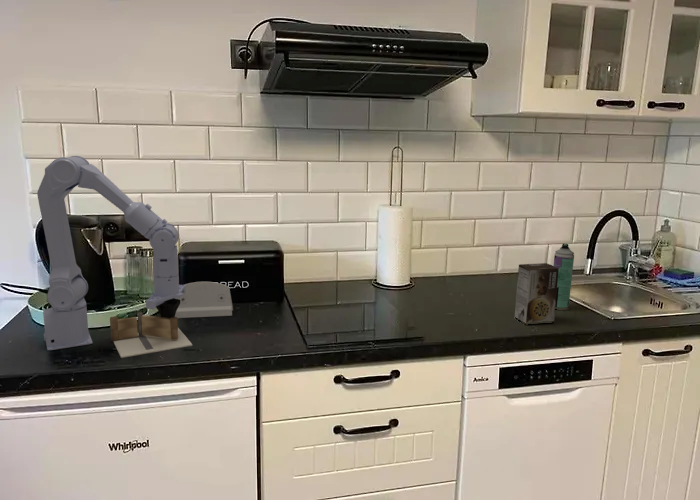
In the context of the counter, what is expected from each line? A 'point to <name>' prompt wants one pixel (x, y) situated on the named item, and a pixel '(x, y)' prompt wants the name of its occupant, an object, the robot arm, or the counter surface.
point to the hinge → (205, 300)
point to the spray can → (563, 275)
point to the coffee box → (536, 292)
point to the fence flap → (157, 326)
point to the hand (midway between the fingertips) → (168, 328)
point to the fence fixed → (123, 328)
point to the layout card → (149, 344)
